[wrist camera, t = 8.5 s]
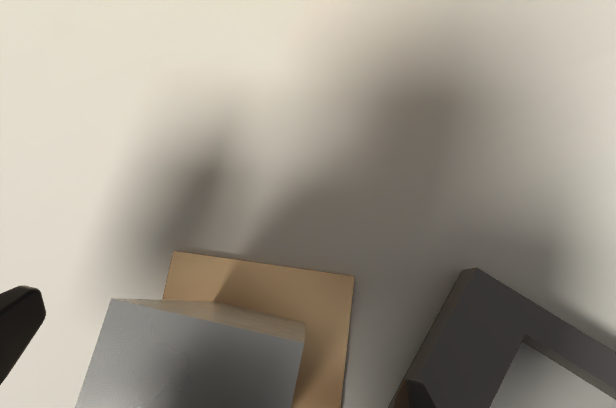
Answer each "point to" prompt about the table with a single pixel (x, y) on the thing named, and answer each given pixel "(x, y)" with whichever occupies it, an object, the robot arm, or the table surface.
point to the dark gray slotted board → (498, 344)
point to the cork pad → (279, 311)
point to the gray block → (192, 357)
